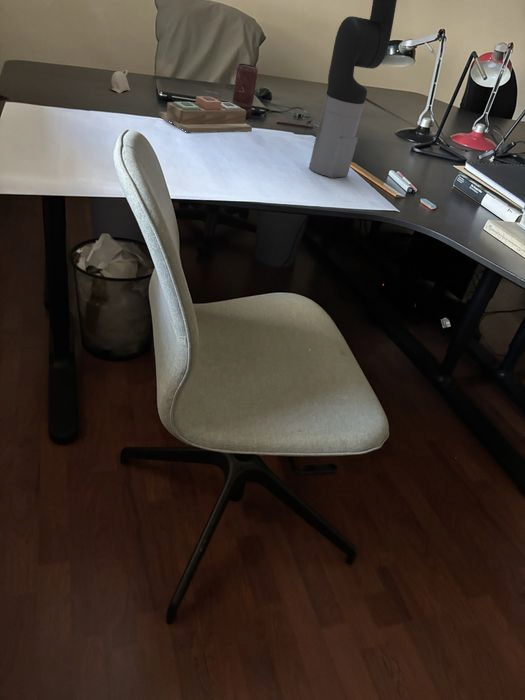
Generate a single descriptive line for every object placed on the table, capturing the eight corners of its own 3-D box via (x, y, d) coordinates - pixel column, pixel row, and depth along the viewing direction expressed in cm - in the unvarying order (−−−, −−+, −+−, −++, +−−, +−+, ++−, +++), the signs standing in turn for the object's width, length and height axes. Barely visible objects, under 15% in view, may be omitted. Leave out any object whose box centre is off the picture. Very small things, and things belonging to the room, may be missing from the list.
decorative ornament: (106, 90, 155) (106, 70, 152) (121, 86, 162) (122, 68, 159) (118, 93, 155) (119, 74, 152) (133, 90, 161) (134, 71, 158)
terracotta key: (220, 111, 144) (221, 101, 142) (205, 111, 141) (206, 100, 139) (210, 106, 146) (211, 95, 145) (195, 106, 143) (196, 95, 142)
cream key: (239, 116, 149) (240, 106, 147) (225, 117, 146) (226, 106, 144) (229, 111, 151) (230, 101, 150) (215, 111, 148) (216, 101, 147)
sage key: (198, 117, 140) (199, 106, 139) (183, 117, 137) (184, 106, 136) (188, 111, 143) (189, 101, 141) (173, 111, 140) (173, 100, 138)
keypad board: (251, 131, 149) (254, 114, 146) (186, 133, 135) (188, 114, 133) (223, 115, 156) (225, 100, 154) (158, 116, 143) (159, 98, 140)
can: (248, 120, 158) (256, 69, 149) (228, 115, 158) (235, 64, 150) (253, 116, 163) (261, 67, 154) (233, 111, 163) (240, 62, 155)
